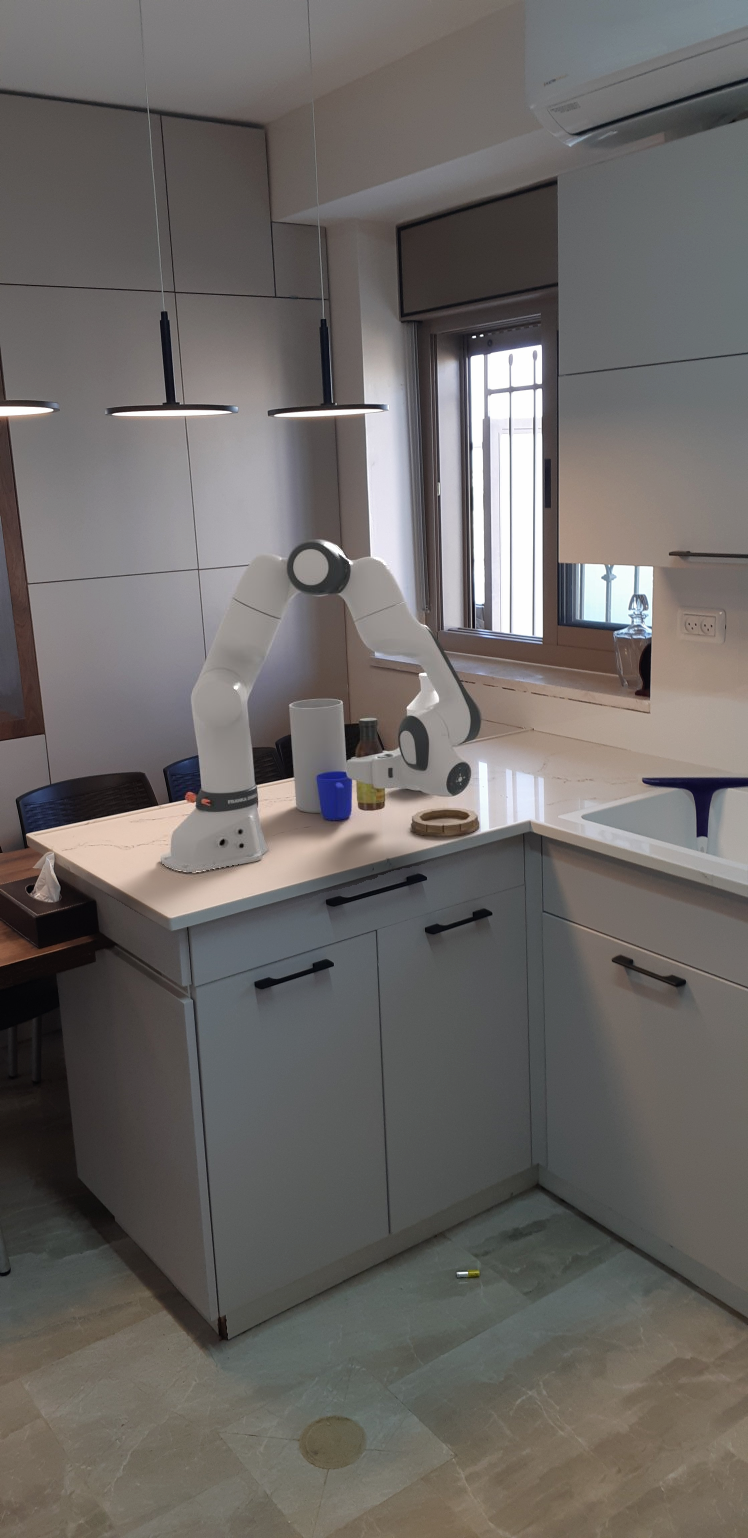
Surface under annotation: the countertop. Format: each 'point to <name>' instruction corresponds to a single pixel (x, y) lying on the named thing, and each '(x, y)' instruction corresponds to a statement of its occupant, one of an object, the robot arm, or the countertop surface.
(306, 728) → the cylinder vase
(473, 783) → the countertop surface
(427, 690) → the bottle
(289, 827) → the countertop surface
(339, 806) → the mug
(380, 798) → the sauce bottle
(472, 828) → the tray
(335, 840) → the countertop surface
